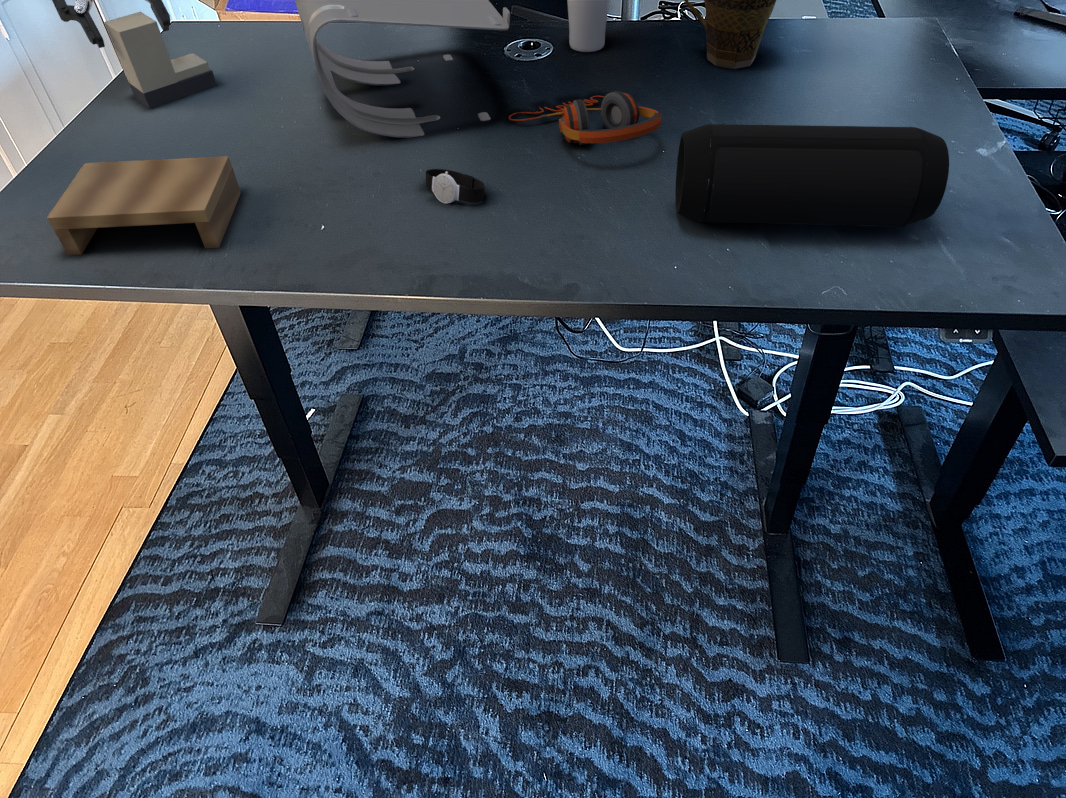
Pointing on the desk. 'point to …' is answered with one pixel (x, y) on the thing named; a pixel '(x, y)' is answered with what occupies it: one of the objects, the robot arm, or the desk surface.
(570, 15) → the white tapered cylinder
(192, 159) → the display stand
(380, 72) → the laptop stand
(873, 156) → the portable speaker
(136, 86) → the shoe
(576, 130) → the headphones
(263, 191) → the desk surface
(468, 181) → the watch
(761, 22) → the ceramic cup
